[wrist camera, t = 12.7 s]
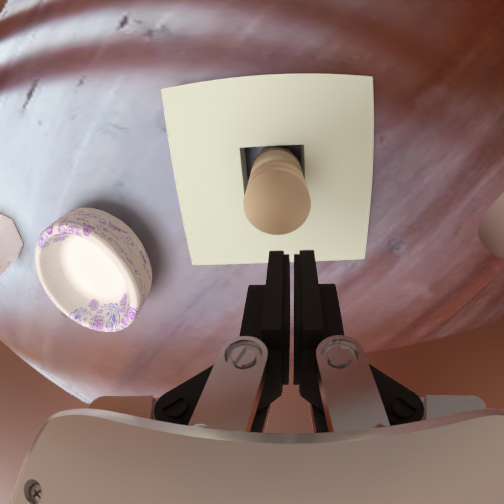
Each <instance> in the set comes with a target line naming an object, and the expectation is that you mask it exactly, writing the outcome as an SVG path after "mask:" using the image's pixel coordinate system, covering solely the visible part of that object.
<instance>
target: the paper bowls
mask: <svg viewBox="0 0 504 504" xmlns="http://www.w3.org/2000/svg"><path fill="white" fill-rule="evenodd" d="M35 266H36V271H37V274H38V277H39V279H40V282H41V284H42V286H43V288H44V290H45V291H46V293H47V294H48V296H49V297H50V299H51V300H52V301H53V302H54V304H55V305H56V306H57V307H58V308H59V309H60V310H61V311H62V312H63V313H64V314H66V315H67V316H68V317H70V318H71V319H72V320H74V321H76V322H77V323H79V324H81V325H83V326H85V327H87V328H90V329H93V330H96V331H102V332H114V331H119V330H122V329H124V328H126V327H128V326H129V325H130V324H131V323H132V322H133V321H134V320H135V319H136V317H137V316H138V314H139V312H140V310H141V308H142V306H143V304H144V302H145V300H146V298H147V296H148V294H149V292H150V289H151V284H152V268H151V263H150V260H149V257H148V254H147V252H146V250H145V248H144V246H143V245H142V243H141V241H140V240H139V238H138V237H137V236H136V234H135V233H134V232H133V231H132V229H131V228H130V227H128V226H127V225H126V224H125V223H124V222H123V221H121V220H120V219H118V218H117V217H114V216H113V215H111V214H109V213H107V212H105V211H102V210H99V209H95V208H77V209H75V210H72V211H70V212H68V213H66V214H65V215H63V216H62V217H60V218H59V219H58V220H56V221H55V222H54V223H52V224H51V225H50V226H49V227H47V228H46V229H45V230H44V231H43V232H42V233H41V235H40V237H39V238H38V241H37V244H36V247H35Z"/></svg>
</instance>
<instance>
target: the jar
mask: <svg viewBox="0 0 504 504" xmlns="http://www.w3.org/2000/svg"><path fill="white" fill-rule="evenodd" d="M22 246H23V242H22V239H21V237H20V235H19V233H18V230H17V228H16V226H15V223H14V221H13V219H11V218H8V217H6V216H4V215H2V214H0V275H1V274H2V273H3V272H4V271H5V270H6V269H7V268H8V267H9V266H10V265H11V264H12V263H13V262H14V261H15V260H16V259H17V258H18V256H19V253H20V251H21V248H22Z"/></svg>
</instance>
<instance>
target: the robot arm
mask: <svg viewBox="0 0 504 504" xmlns="http://www.w3.org/2000/svg"><path fill="white" fill-rule="evenodd" d="M289 349H290V259H289V254H284V251H269V259H268V269H267V279H266V285H249V287H248V292H247V298H246V303H245V309H244V314H243V320H242V326H241V331H240V337H236V338H233V339H231V340H229V341H228V342H227V343H225V344H224V345H223V347H222V348H221V350H220V352H219V354H218V357H217V359H216V361H215V364H214V365H213V366H211V367H209V368H208V369H206V370H204V371H203V372H201V373H199V374H198V375H196V376H194V377H193V378H191V379H189V380H188V381H186V382H184V383H183V384H181V385H179V386H177V387H176V388H174V389H172V390H170V391H169V392H167V393H165V394H164V395H163V396H161V397H160V398H154V397H153V396H152V395H150V396H102V397H99V398H97V399H95V400H94V401H93V402H92V403H91V404H90V406H89V409H87V408H86V409H71V410H66V411H61V412H58V413H56V414H54V415H52V416H50V417H49V418H48V419H47V420H46V421H45V423H44V424H43V425H42V426H41V428H40V430H39V431H38V433H37V435H36V436H35V438H34V440H33V442H32V444H31V446H30V448H29V450H28V453H27V455H26V457H25V460H24V462H23V465H22V467H21V470H20V473H19V476H18V479H17V482H16V485H15V488H14V491H13V495H12V498H11V501H10V504H504V410H499V409H486V406H485V404H484V402H483V401H482V400H481V399H480V398H478V397H476V396H439V395H427V396H426V397H425V398H420V397H419V396H417V395H416V394H415V393H414V392H412V391H410V390H409V389H407V388H405V387H404V386H403V385H401V384H399V383H398V382H396V381H394V380H393V379H391V378H390V377H388V376H386V375H385V374H383V373H382V372H381V371H379V370H377V369H376V368H374V367H373V366H371V365H370V364H368V361H367V358H366V356H365V353H364V350H363V348H362V347H361V345H360V344H359V343H358V342H357V341H356V340H355V339H353V338H351V337H348V336H344V331H343V325H342V319H341V313H340V307H339V302H338V296H337V291H336V286H335V284H318V277H317V269H316V262H315V254H314V250H300V251H299V254H294V383H293V384H294V385H298V384H299V392H300V395H301V396H302V397H303V398H304V399H306V400H307V401H308V402H309V408H310V413H311V419H312V425H313V430H314V433H264V432H265V429H266V425H267V421H268V417H269V414H270V410H271V404H272V402H273V401H274V400H276V399H277V398H278V397H280V396H281V393H282V386H283V385H288V382H289Z"/></svg>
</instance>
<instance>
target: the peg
mask: <svg viewBox="0 0 504 504" xmlns="http://www.w3.org/2000/svg"><path fill="white" fill-rule="evenodd" d="M243 207H244V212H245V215H246V217H247V219H248V220H249V222H250V223H251V224H252V225H253V226H254V227H255V228H257V229H258V230H260V231H262V232H264V233H267V234H272V235H283V234H288V233H291V232H293V231H295V230H296V229H298V228H299V227H300V226H302V224H303V223H304V222H305V221H306V219H307V218H308V216H309V213H310V209H311V199H310V195H309V192H308V188H307V185H306V182H305V179H304V176H303V173H302V170H301V165H300V163H299V161H298V159H297V157H296V156H295V155H294V154H293V153H292V152H291V150H290V149H289V148H288V147H287V146H285V145H278V146H265V147H264V148H263V149H262V150H261V152H260V153H259V154H258V155H257V157H256V158H255V160H254V162H253V164H252V168H251V174H250V177H249V181H248V185H247V188H246V192H245V195H244V200H243Z"/></svg>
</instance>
